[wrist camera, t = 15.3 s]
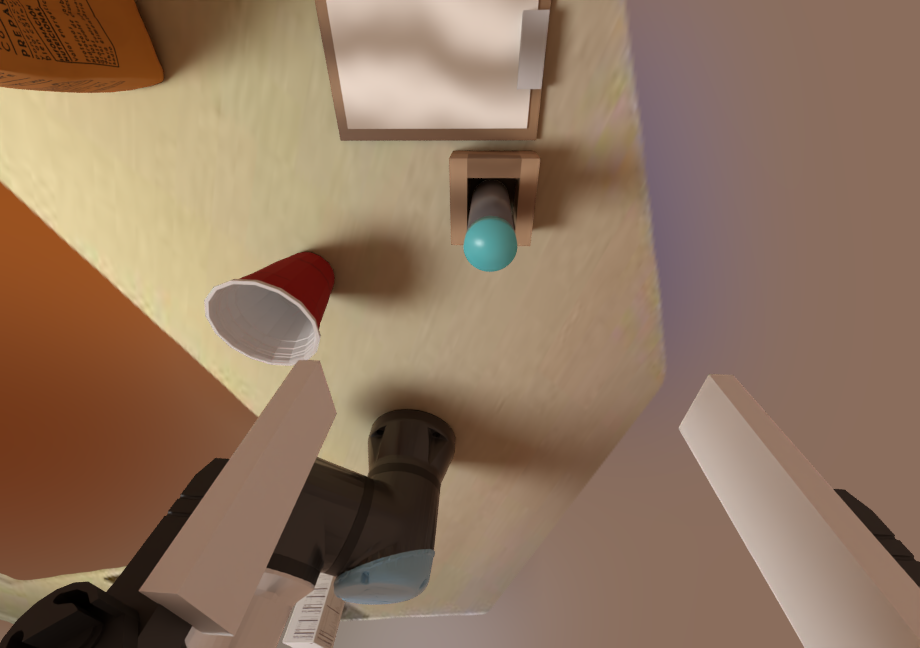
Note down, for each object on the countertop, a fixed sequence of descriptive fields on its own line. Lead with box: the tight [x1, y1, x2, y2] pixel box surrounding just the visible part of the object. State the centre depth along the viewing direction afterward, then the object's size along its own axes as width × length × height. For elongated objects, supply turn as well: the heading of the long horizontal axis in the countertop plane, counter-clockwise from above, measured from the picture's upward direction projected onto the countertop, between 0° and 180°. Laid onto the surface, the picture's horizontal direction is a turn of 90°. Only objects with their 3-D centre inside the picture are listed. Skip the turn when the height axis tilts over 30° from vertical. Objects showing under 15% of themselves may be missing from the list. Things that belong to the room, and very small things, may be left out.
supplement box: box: [283, 573, 345, 648], centre depth 91 cm, size 10×9×17 cm
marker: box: [464, 179, 517, 272], centre depth 29 cm, size 4×4×15 cm
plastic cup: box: [204, 252, 335, 366], centre depth 37 cm, size 11×11×12 cm
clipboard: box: [315, 0, 551, 141], centre depth 28 cm, size 13×19×2 cm
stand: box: [449, 151, 540, 246], centre depth 34 cm, size 8×8×4 cm
